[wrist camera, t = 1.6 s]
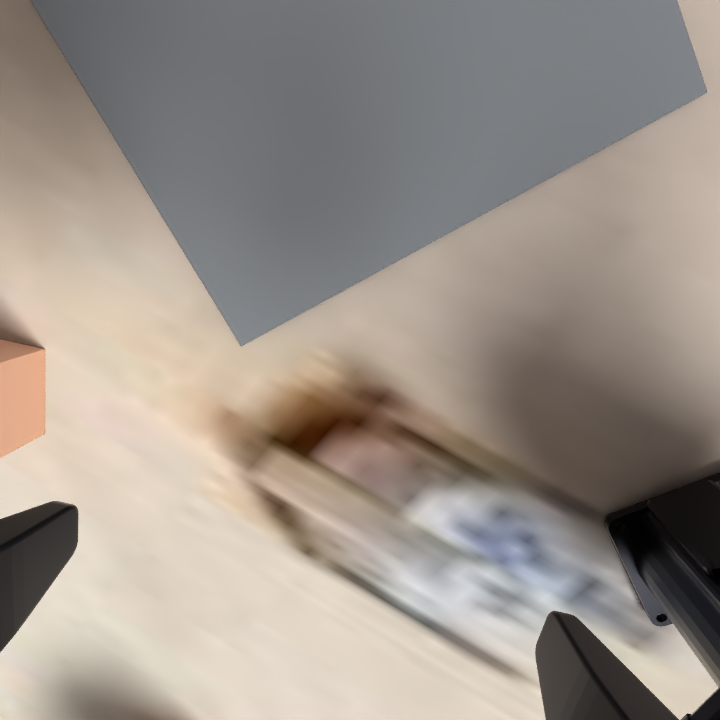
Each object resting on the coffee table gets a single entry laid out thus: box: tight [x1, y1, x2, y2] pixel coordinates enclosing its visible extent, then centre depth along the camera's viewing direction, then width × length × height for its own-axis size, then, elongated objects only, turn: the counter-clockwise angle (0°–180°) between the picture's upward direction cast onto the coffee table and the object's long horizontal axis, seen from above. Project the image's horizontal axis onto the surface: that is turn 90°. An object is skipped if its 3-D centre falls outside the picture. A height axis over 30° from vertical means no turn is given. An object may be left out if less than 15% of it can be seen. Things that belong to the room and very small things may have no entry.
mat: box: [30, 0, 707, 346], centre depth 16 cm, size 16×20×1 cm
